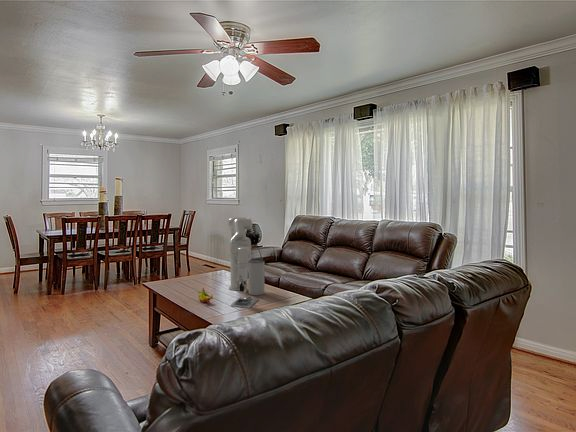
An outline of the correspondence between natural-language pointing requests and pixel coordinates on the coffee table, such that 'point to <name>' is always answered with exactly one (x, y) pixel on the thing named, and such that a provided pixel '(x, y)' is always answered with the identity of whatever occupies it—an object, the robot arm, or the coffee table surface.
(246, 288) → the block
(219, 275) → the coffee table surface
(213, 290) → the coffee table surface
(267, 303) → the coffee table surface
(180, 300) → the coffee table surface
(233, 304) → the carrier plate
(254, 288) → the cylinder vase
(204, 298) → the yellow toy car
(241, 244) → the robot arm
